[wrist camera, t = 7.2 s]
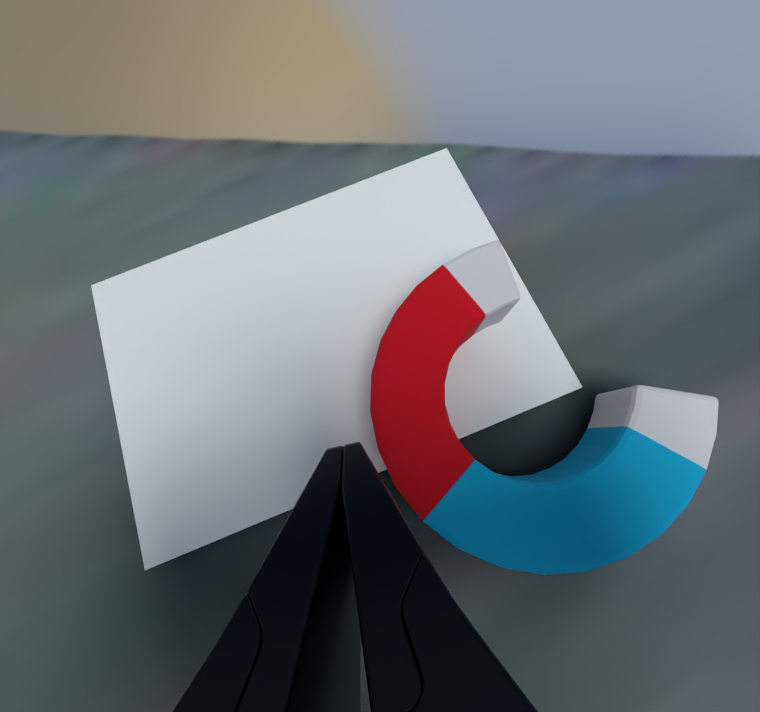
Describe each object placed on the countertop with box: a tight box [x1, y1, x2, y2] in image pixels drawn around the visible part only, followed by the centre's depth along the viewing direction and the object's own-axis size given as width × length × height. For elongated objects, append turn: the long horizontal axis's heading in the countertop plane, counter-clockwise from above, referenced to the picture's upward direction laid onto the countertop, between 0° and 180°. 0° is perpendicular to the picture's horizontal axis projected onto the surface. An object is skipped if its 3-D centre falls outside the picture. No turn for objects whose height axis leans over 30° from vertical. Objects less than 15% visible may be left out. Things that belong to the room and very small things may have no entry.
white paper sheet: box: [91, 148, 582, 570], centre depth 16 cm, size 14×20×1 cm
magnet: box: [370, 240, 718, 575], centre depth 13 cm, size 12×3×10 cm
